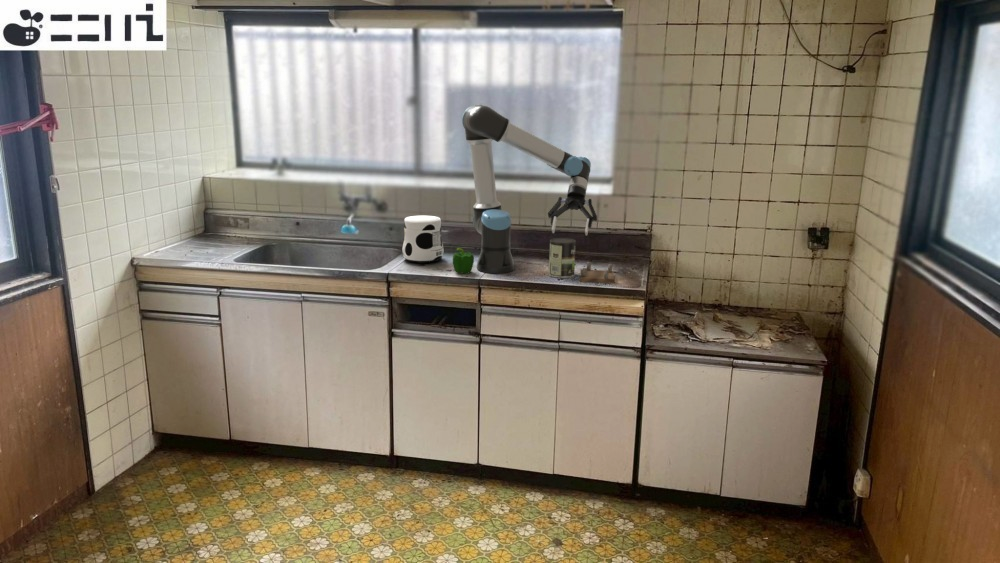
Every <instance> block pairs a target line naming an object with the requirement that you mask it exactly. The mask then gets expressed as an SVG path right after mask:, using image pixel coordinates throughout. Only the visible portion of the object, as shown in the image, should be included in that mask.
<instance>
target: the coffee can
mask: <svg viewBox="0 0 1000 563" xmlns="http://www.w3.org/2000/svg"><path fill="white" fill-rule="evenodd" d="M576 242H577V240H576V239H574V238H568V237H553V238H550V239H549V259H548V260H549V261H548V262H549V267H548V268H549V269H548V276H549V277H551V276H552V277H551V278H555V277H558V279H570V277H571V278H573V277H575V266H576V265H575V264H576V263H575V262H576V244H577V243H576Z"/></svg>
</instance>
